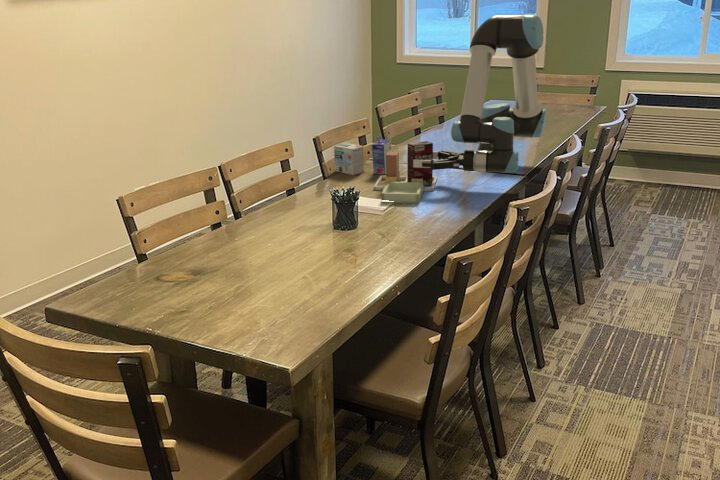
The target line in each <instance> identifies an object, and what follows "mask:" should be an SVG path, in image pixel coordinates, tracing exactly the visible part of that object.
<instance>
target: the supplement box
mask: <svg viewBox="0 0 720 480" xmlns="http://www.w3.org/2000/svg"><path fill="white" fill-rule="evenodd" d="M433 151H434V143H433V142H431V141H428V140H425V141H417V142H413V143H407V169H406V170H407V175H406V176H407V182H412V179H423V187H426V186H432V184H433V180H432V179H433V176H434V175H433V172H434V170H432V168H417V167H413V160H431V159H433ZM433 160H434V159H433Z"/></svg>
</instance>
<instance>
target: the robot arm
mask: <svg viewBox="0 0 720 480" xmlns="http://www.w3.org/2000/svg"><path fill="white" fill-rule="evenodd" d="M543 45H544V26H543V22H542V19H541V18H540V16H538V15H535V14H522V15H520V14H517V15H516V14H515V15H514V14H513V15H512V14H510V15H509V14H508V15H507V14H506V15H501V14H497V15H493V16H491V17H488V18H487V19H486V20H485V21H483V22H482V24H481V25H479V27H478V28H477V29H476V30H475V33H474V34H473V37H472V39H471V42H470V46H469V53H470V54H471V56H470V60H469V61H470V62H469V65H468V66H469V67H468V73H467V77H466V84H465V89H464V90H465V91H464V95H463V100H462V105H461V106H462V107H461V112H460V117H459V120H456V121H454V122H453V123H452V126H451V127H450V128H451V130H450V136H451V139H452V140H453V142H456V143H461V144H462V143H464V144H467V143H468V144H478V147H477V148H476V149H477V150H476V151H475V150H473V149H472V150H470V149H466V150H464V151H463V152H457V151H450V150H443V149H441V150H439V151H434V150H433V159H431V160H413V167H417V168H432V170H433V171H437V170H448V169H459V168H460V167H461V166H462V169H463V172H474V171H475V172H481V173H482V174H484V173H485V172H487V173H488V172H489V173H490V172H491V173H503V174H505V173H506V174H507V173H517V171H519V170H518V169H519V161H520V160H519V159H520V158H519V157H520V154H519V153H520V152H518V151H515V150H514V138H515V137H517V138H530V139H532V138H541V137H542V136H543V135H544V131H545V128H546V123H547V117H548V109H546V108H543V105H542V103H541V101H539V98H538V82H537V81H538V80H537V78H538V77H537V65H536V63H537V62H536V55H537V53H538V52H539V49H540V48H542V47H543ZM497 49H505V50H506V54H507V55H508V57H510V58H511V64H512V76H513V77H512V78H513V88H514V98H515V99H514V100H515V103H514V105H513V106H512V107H511V105H510V103H509V102H508V103H506V102H503V103H493V104H488V105H485V99H486V93H487V87H488V83H489V76H490V69H491V65H492V60H493V57H494V56H495V55H496V54H497V53H496V52H497ZM484 105H485V106H484Z"/></svg>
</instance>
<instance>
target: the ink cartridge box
mask: <svg viewBox="0 0 720 480" xmlns="http://www.w3.org/2000/svg"><path fill="white" fill-rule="evenodd" d="M376 140H377V141H374V143H372V144H371V148H372V149H371V151H372V166H373V168H372V169H373V175H386V154H387V153H388V151H392V140H391V139H383V138H382V136H381V135H377V136H376Z"/></svg>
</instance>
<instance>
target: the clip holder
mask: <svg viewBox="0 0 720 480" xmlns="http://www.w3.org/2000/svg"><path fill="white" fill-rule="evenodd" d="M400 172H401V171H400V170H399V182H401V181H403V180H404V182H407V175H401V173H400ZM383 180H385V185H380V184H381V182H382V181H383ZM437 181H438V176H436V175H435V176H434V175H433V179H432V185H431V186H423V192H434V190H435V186H436V184H437ZM388 182H397V177H386V175H383V174H380V176H379V178H378V179H377V180H376V182H375V184H374V185H373V191H383V190H384V188H385V186H386V184H387V183H388ZM412 182H420V183H423V179H412Z"/></svg>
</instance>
